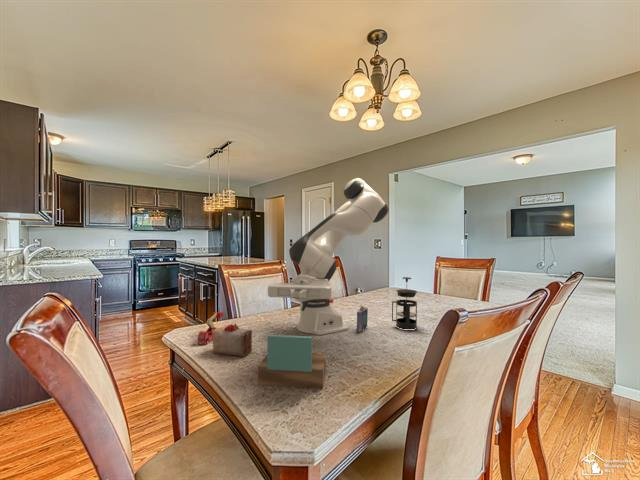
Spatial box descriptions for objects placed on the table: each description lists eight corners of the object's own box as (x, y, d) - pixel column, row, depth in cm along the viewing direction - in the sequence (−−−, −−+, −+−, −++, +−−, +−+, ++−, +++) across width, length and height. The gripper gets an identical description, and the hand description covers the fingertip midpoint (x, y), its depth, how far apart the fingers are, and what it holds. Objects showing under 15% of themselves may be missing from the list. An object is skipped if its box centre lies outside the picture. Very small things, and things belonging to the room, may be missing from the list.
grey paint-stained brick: (208, 354, 102) (208, 326, 102) (221, 346, 110) (221, 320, 110) (243, 359, 98) (243, 329, 98) (254, 350, 106) (255, 323, 106)
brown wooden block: (268, 367, 93) (269, 351, 93) (326, 370, 91) (326, 353, 91) (258, 384, 82) (258, 366, 82) (322, 388, 80) (323, 369, 80)
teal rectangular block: (268, 367, 81) (268, 334, 81) (311, 369, 80) (312, 336, 80) (267, 369, 80) (267, 336, 80) (311, 371, 79) (311, 338, 78)
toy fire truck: (196, 345, 111) (196, 319, 111) (216, 333, 124) (216, 310, 124) (204, 345, 110) (204, 320, 110) (223, 334, 124) (223, 311, 123)
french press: (416, 325, 138) (417, 276, 138) (420, 331, 129) (421, 279, 129) (391, 324, 140) (391, 275, 140) (392, 330, 131) (393, 278, 131)
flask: (361, 333, 127) (361, 308, 127) (354, 331, 128) (354, 307, 128) (368, 327, 135) (368, 304, 135) (362, 326, 136) (362, 303, 136)
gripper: (273, 277, 102) (261, 283, 88) (332, 279, 100) (330, 285, 86) (273, 295, 102) (261, 305, 88) (332, 297, 100) (329, 307, 86)
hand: (296, 295), depth 87 cm, fingers closed
